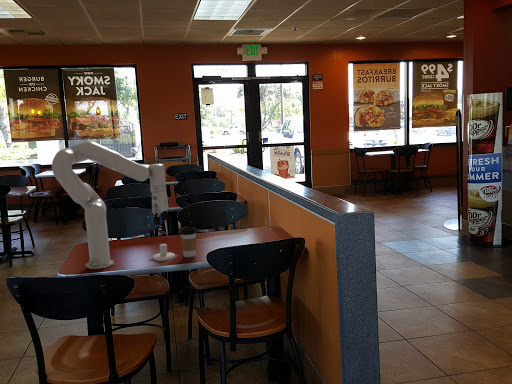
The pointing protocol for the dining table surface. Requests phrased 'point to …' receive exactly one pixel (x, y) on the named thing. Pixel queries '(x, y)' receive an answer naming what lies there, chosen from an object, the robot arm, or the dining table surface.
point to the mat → (166, 260)
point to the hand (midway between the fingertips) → (161, 222)
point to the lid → (163, 254)
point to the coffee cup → (188, 241)
